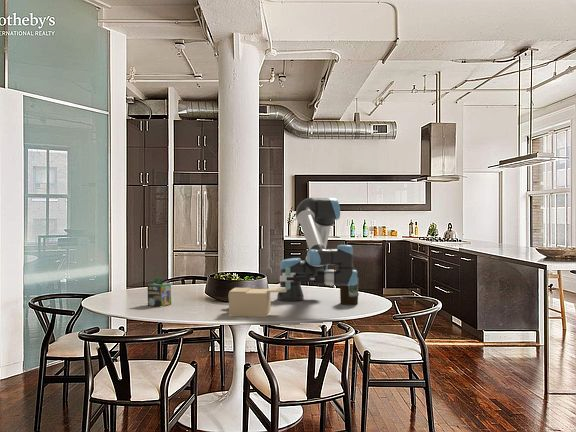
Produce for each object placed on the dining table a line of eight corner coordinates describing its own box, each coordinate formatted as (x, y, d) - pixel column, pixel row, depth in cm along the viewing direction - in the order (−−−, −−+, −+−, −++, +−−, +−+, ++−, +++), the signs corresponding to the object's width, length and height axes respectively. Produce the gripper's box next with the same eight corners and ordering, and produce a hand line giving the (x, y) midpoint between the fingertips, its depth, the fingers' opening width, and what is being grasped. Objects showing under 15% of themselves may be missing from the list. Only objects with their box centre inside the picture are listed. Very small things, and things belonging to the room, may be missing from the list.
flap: (270, 288, 281) (270, 266, 281) (291, 288, 280) (291, 266, 280) (266, 292, 267) (266, 269, 267) (288, 292, 266) (288, 269, 266)
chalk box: (171, 304, 302) (171, 277, 302) (161, 307, 294) (161, 278, 294) (157, 303, 306) (157, 276, 306) (146, 305, 298) (146, 278, 298)
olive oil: (335, 303, 308) (335, 257, 308) (350, 301, 314) (350, 256, 314) (347, 305, 299) (347, 258, 299) (362, 303, 305) (363, 257, 305)
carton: (234, 310, 283) (234, 287, 283) (270, 310, 282) (270, 287, 282) (228, 316, 267) (228, 291, 267) (266, 316, 266) (266, 292, 266)
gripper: (324, 288, 259) (278, 287, 261) (325, 282, 284) (283, 281, 286) (324, 272, 259) (278, 271, 261) (325, 267, 284) (283, 266, 286)
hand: (281, 276), depth 273 cm, fingers open, 13 cm apart
